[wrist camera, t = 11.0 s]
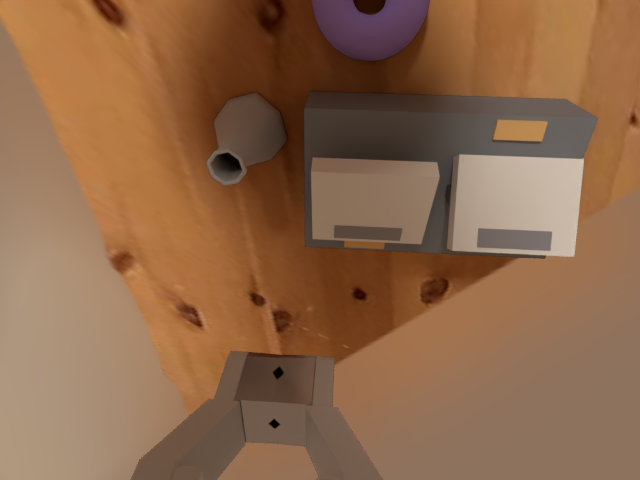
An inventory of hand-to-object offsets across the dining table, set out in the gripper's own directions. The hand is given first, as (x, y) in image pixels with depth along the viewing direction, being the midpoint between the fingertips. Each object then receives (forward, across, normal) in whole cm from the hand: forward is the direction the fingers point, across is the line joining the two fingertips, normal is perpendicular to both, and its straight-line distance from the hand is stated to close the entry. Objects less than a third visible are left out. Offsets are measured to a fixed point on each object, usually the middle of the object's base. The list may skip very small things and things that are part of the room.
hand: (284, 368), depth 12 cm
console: (+33, -10, +7) cm, 35 cm away
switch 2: (+25, -16, +7) cm, 30 cm away
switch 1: (+25, -4, +7) cm, 26 cm away
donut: (+34, -3, -8) cm, 35 cm away
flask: (+33, +8, +4) cm, 35 cm away
